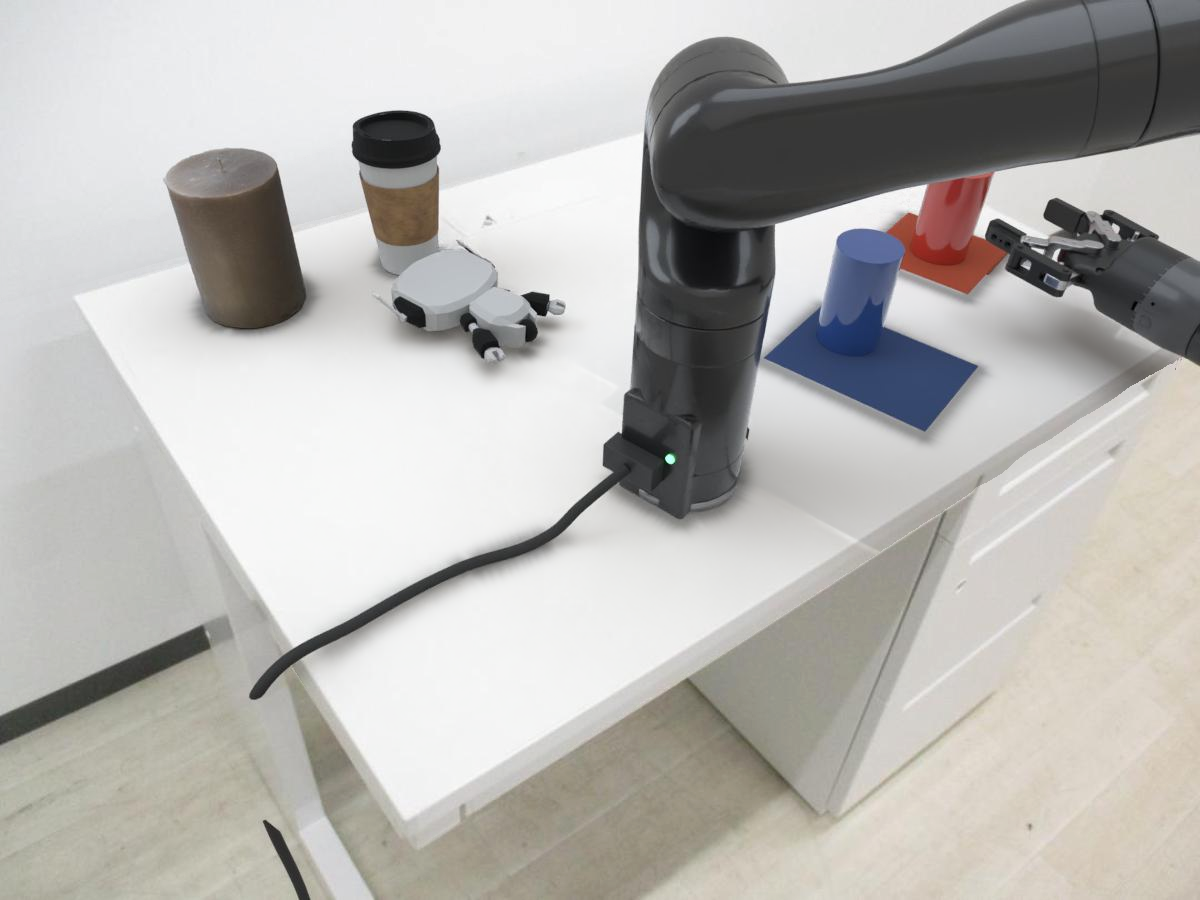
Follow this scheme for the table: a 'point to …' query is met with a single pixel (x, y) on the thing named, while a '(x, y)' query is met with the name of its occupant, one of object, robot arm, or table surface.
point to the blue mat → (879, 372)
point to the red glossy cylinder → (949, 219)
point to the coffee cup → (400, 184)
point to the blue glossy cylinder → (859, 291)
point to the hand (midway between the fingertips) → (1019, 217)
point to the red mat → (954, 276)
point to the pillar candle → (237, 236)
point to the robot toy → (468, 301)
